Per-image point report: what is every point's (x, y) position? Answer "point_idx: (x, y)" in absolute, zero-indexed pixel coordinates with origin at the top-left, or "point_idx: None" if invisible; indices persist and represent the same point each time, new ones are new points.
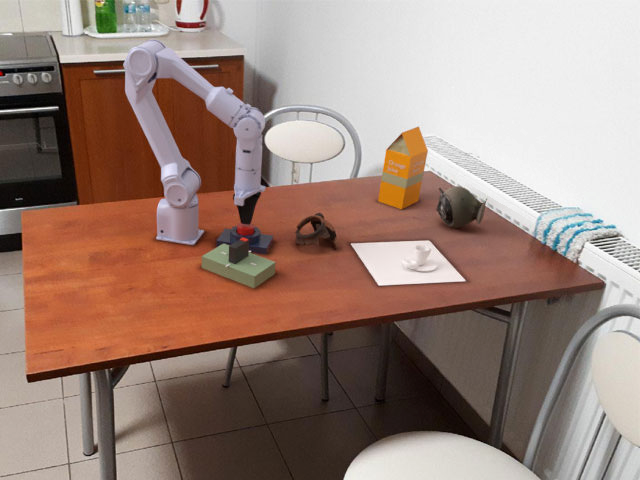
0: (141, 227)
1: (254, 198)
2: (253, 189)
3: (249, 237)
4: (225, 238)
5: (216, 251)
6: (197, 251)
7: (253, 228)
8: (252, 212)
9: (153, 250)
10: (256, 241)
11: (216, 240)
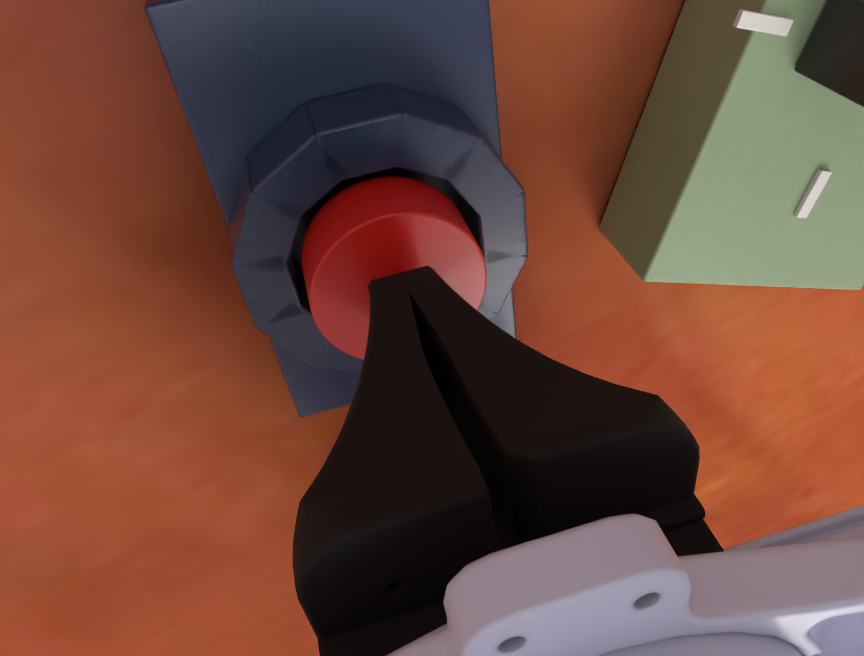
0: None
1: (605, 480)
2: (782, 649)
3: (502, 163)
4: None
5: (785, 253)
6: (600, 369)
7: (399, 207)
8: (477, 336)
9: None
10: (419, 95)
11: None
